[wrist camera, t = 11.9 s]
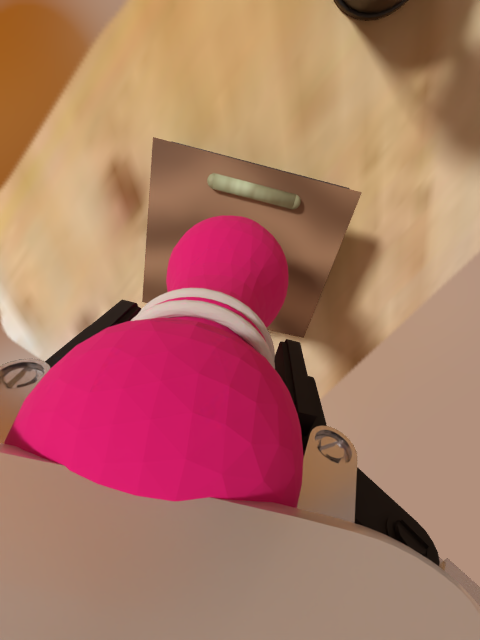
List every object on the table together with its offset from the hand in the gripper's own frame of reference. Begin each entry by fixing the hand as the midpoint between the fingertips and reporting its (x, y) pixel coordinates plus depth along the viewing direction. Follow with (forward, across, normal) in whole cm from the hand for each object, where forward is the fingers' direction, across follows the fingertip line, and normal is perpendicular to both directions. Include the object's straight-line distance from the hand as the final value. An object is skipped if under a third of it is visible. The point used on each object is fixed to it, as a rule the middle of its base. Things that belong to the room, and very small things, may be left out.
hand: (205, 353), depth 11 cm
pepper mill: (+11, 0, -1) cm, 11 cm away
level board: (+19, 0, 0) cm, 19 cm away
